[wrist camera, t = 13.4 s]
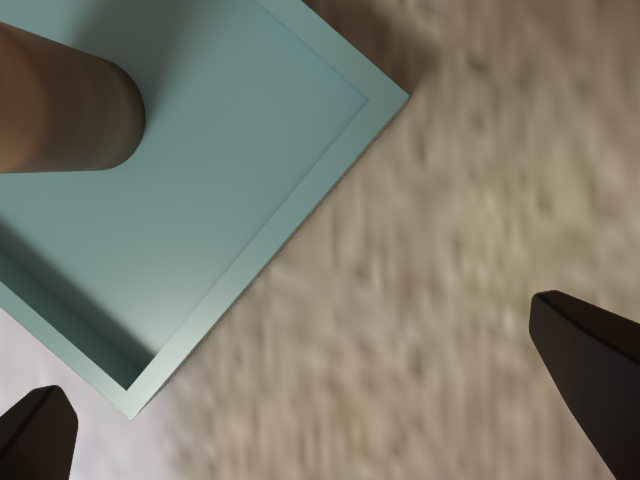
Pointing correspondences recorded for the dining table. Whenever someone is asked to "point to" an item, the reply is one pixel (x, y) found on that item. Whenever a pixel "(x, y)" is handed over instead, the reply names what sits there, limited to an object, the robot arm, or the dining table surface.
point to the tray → (182, 178)
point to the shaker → (63, 107)
